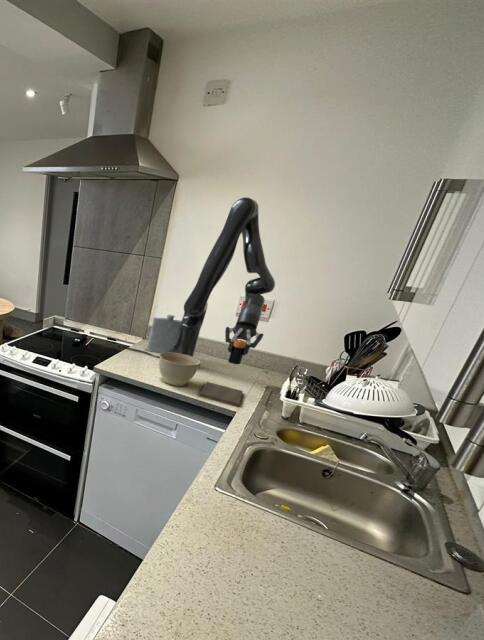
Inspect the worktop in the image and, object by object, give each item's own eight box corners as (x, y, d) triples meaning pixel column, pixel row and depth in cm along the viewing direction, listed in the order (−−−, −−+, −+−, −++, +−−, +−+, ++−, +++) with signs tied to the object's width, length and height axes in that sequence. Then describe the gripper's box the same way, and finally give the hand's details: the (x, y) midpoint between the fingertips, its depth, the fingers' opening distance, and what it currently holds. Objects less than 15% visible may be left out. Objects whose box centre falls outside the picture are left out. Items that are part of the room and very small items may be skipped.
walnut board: (199, 395, 157) (200, 393, 157) (206, 384, 170) (206, 381, 169) (237, 406, 151) (238, 403, 150) (241, 393, 163) (242, 390, 163)
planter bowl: (201, 386, 167) (208, 362, 163) (176, 392, 159) (183, 367, 155) (170, 372, 180) (176, 350, 175) (146, 377, 172) (151, 354, 167)
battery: (227, 362, 157) (234, 340, 153) (228, 359, 160) (235, 338, 157) (239, 365, 155) (246, 343, 151) (240, 362, 158) (247, 340, 155)
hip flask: (176, 353, 208) (186, 316, 200) (178, 355, 205) (187, 318, 197) (146, 348, 211) (154, 312, 203) (147, 351, 207) (155, 314, 199)
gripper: (230, 309, 159) (218, 343, 154) (271, 316, 152) (259, 352, 148) (228, 319, 165) (216, 353, 161) (267, 326, 159) (255, 362, 154)
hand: (237, 352), depth 154 cm, fingers closed on battery, 4 cm apart
